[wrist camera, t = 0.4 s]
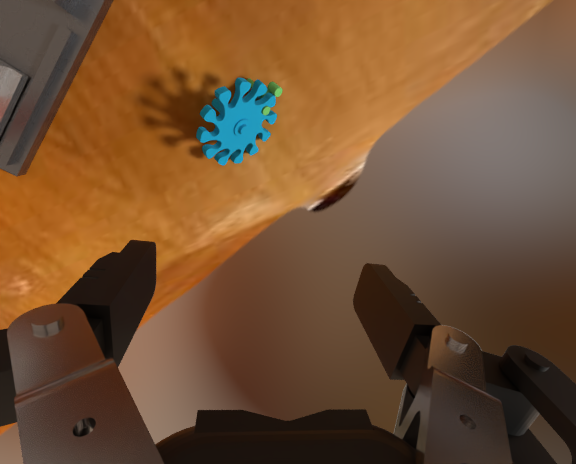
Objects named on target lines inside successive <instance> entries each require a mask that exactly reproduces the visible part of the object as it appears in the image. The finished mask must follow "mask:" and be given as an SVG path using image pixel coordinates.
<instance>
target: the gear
mask: <svg viewBox="0 0 576 464" xmlns="http://www.w3.org/2000/svg"><path fill="white" fill-rule="evenodd" d="M250 88H251V91H250V92H249V93H248V94H247V95H246V96H245V97H244V98H243V95H244V94H245V93H247V92H248V91H249V89H250ZM281 94H282V88H281V87H279V86H278V85H277V84H276V83H274V82H270V83H269V85H268V88H267V87H266V86H265V85H264V84H263V83H262V82H261V81H260V80H256V81H255V82H253V81H252V80H251V79H247V80H246V79H244V78H237V79H236V81H235V94H234V97H233V99H232V101H231V102H230V103H229V104H228V102H229V100H230V98H231V92H230V90H228V89H227V88H226V87H225V86H224V87H220V88H218V89H217V90H215V96H216V97H217V98H218V99H217V98H215V99H213V101H212V106H213V107H214V108H215V109H216V110H217V111H218V112H219V113H220V114H219V116H217V117H216V112H215V110H214V109H213V108H212V107H211V106H209V105H206V106H205V107H204V108H203V109H202V110H201V112H200V115H201V117H202V118H203V119H204V120H205V121H207V122H213V123H214V124H215V129H214V131H212V132H208V131H207V130H206V129H205V128H204V127H199V128H198V130H197V134H196V138H197V139H198V140H199V141H200V142H202V143H205V142H207V141H210V140H217V143H216V144H214V145H210V144H205V145H204V146H203V147H202V151H203V153H204V155H205V156H206V157H207V158H208V159H210V158H212V157H213V156H214V155H215V154H216V153H217V152H219V151H221V150H223V149H225V150H224V151H223V152H220V153H218V154H216V155H215V157H214V158H215V160H216V161H217V162H218V163H219V164H221V165H223V166H224V165H225V164H226V163H227V161H228V158H229V157H230V155H231V154H232V153H233V152H234V151H235V152H234V153H233V154H232V155H231V157H230V159H231V160H232V161H233V162H234V163H241V162H242V161H243V152H244V150H245V148H246V151H247V152H248V153H249V154H250V155H253V154H255V153H257V152H258V147H257V146H256V143H255V140H256V136H257V134H258V136H259V138H260V139H261V140H263V141H264V142H265V141H266V140H267V139H268V138H269V137H270V135H271V134H270V132H269V131H268V130H266V129H265V128H262V125H261V124H262V122H263V121H264V120H266V121H267V122H269V123H270V124H274V122H275V120H276V118H277V114H276V113H274V112H273V111H272V110H270V107H273V106H275V103H276V99H275V96H276V97H279V96H280V95H281ZM274 95H275V96H274ZM246 146H247V147H246Z"/></svg>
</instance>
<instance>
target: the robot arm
mask: <svg viewBox="0 0 576 464" xmlns="http://www.w3.org/2000/svg"><path fill="white" fill-rule="evenodd" d="M155 286H156V244H155V242H149V241H139V240H130V241H129V243H128V244H127V245H126V246H125V247H124V249H123V250H122V251H121V252H120V253H117V252H112V253H110V254H108V255H106V256H104V257H102V258H100V259H98V260H97V261H96V262H95V263H94V264H93V265H92V266H91V267H90V270H88V271H87V272H86V273H85V274H84V275H83V277H82V278H80V279H79V280H78V281H77V282H76V283H75V284H74V285H73V286H72V287H71V288H70V289H69V291H68V292H67V293H66V294H65V295H64V296H63V297H62V298H61V299H60V300H59V301H58V302H57V303H56V304H50V305H46V306H42V307H38V308H35V309H33V310H30V311H28V312H26V313H24V314H23V315H21V316H19V317H18V318H17V319H15V320H14V321H13V322H12V323H11V325H10V326H9V327H8V329H3V330H0V426H4V425H8V424H12V423H15V422H17V423H18V430H19V437H20V444H21V450H22V457H23V464H557V463H556V462H555V461H554V459H553V458H552V457H551V456H550V455H549V453H548V452H547V451H546V449H545V448H544V447H543V446H542V444H541V443H540V442H539V441H538V440H537V439H536V437H535V436H534V435H533V434H532V432H531V431H530V430H529V427H530V425H531V424H532V423H533V422H534V420H535V419H536V418H537V416H538V415H539V414H541V415H542V417H543V418H544V419H545V420H546V421H547V422H548V423H549V424H550V426H551V427H552V428H553V429H554V430H555V431H556V432H557V434H558V435H559V436H560V437H561V438H562V439H563V440H564V441H565V443H566V444H567V446H568V448H569V449H570V452H571V455H572V464H576V384H575V383H574V382H573V381H572V380H571V379H570V378H569V377H567V376H566V375H565V374H564V373H563V372H562V371H561V370H560V369H559V368H558V367H556V366H555V365H554V364H553V363H552V362H551V361H549V360H548V359H546V358H545V357H543V356H542V355H540V354H538V353H536V352H534V351H532V350H530V349H527V348H524V347H521V346H516V345H513V346H509V347H508V348H507V350H506V351H505V353H504V355H503V356H502V357H500V356H497V355H494V354H490V353H487V352H483V351H482V350H481V348H480V347H479V345H478V344H477V343H476V342H475V341H474V340H473V339H472V338H471V337H469V336H468V335H467V334H465V333H463V332H462V331H460V330H458V329H455V328H453V327H450V326H444V325H441V324H440V323H439V322H438V321H437V320H436V318H435V317H434V316H433V315H432V314H431V312H430V311H429V310H428V309H427V308H426V307H425V305H424V304H423V303H421V301H420V300H419V298H418V297H417V296H415V294H414V293H413V292H412V290H411V289H410V288H409V287H408V286H407V285H406V284H404V283H403V282H401V281H400V280H399V279H397V278H396V277H395V276H394V275H393V273H392V272H391V271H390V270H389V269H388V268H387V267H386V266H385V265H379V264H369V263H367V264H365V265H364V267H363V269H362V272H361V275H360V278H359V282H358V285H357V288H356V291H355V294H354V299H353V305H354V309H355V312H356V313H357V315H358V318H359V319H360V321H361V323H362V325H363V327H364V329H365V331H366V333H367V335H368V337H369V339H370V341H371V343H372V345H373V347H374V349H375V351H376V353H377V355H378V357H379V359H380V361H381V363H382V365H383V367H384V369H385V371H386V373H387V375H388V376H389V379H394V380H396V379H397V380H405V381H406V383H407V384H406V386H405V388H404V390H403V394H402V398H401V403H400V408H399V412H398V417H397V421H396V426H395V430H394V434H392V433H390V432H388V431H386V430H384V429H382V428H379V427H377V426H374V425H372V424H371V422H370V419H369V416H368V414H367V411H366V410H325V411H322V412H318V413H315V414H312V415H309V416H305V417H302V418H298V419H295V420H292V421H284V420H280V419H276V418H272V417H268V416H264V415H260V414H256V413H252V412H248V411H244V410H198V413H197V419H196V425H195V426H193V427H190V428H186V429H184V430H181V431H179V432H176V433H174V434H172V435H170V436H169V437H167V438H165V439H163V440H161V441H160V442H158V443H157V444H154V442H153V439H152V437H151V435H150V433H149V431H148V429H147V427H146V425H145V423H144V421H143V419H142V417H141V415H140V413H139V411H138V408H137V406H136V405H135V403H134V400H133V398H132V396H131V394H130V392H129V390H128V388H127V386H126V384H125V382H124V380H123V378H122V376H121V374H120V372H119V369H118V366H119V364H120V362H121V360H122V358H123V356H124V354H125V352H126V350H127V348H128V346H129V344H130V342H131V340H132V338H133V336H134V334H135V332H136V330H137V328H138V326H139V324H140V322H141V320H142V317H143V315H144V313H145V311H146V309H147V307H148V305H149V303H150V301H151V299H152V297H153V294H154V291H155Z"/></svg>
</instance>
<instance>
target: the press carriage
mask: <svg viewBox="0 0 576 464" xmlns="http://www.w3.org/2000/svg"><path fill="white" fill-rule="evenodd" d="M28 78H29V77H28V76H27V75H25V74H23V73H22V72H20V71H18V70H17V69H15V68H14V67H12V66H10V65H9V64H7V63H5V62H4V61H2V60H1V59H0V137H1V135H2V132H3V130H4V128H5V126H6V124H7V122H8V120H9V118H10V116H11V113H12V111H13V109H14V107H15V105H16V103H17V101H18V99H19V97H20V94H21V92H22V90H23V88H24V86H25V84H26V82H27V80H28Z"/></svg>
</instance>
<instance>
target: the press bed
mask: <svg viewBox="0 0 576 464" xmlns="http://www.w3.org/2000/svg"><path fill="white" fill-rule="evenodd" d="M112 2H113V0H0V59H1V60H2V61H4V62H5V63H7V64H9V65H10V66H12V67H14V68H15V69H17V70H18V71H20V72H22V73H23V74H25V75H27V76H28V77H29V78H28V80H27V82H26V84H25V86H24V88H23V90H22V92H21V94H20V97H19V99H18V101H17V103H16V105H15V107H14V109H13V111H12V113H11V116H10V118H9V120H8V122H7V124H6V126H5V128H4V130H3V132H2V135H1V137H0V168H1V169H3V170H5V171H7V172H9V173H11V174H13V175H15V176H20V175H24V174H26V172H27V170H28V168H29V166H30V164H31V162H32V160H33V158H34V156H35V154H36V152H37V150H38V148H39V146H40V144H41V142H42V140H43V138H44V136H45V134H46V132H47V130H48V129H49V127H50V125H51V123H52V121H53V119H54V117H55V115H56V113H57V111H58V109H59V107H60V105H61V103H62V101H63V99H64V97H65V95H66V93H67V91H68V89H69V87H70V85H71V83H72V81H73V79H74V77H75V75H76V73H77V71H78V69H79V67H80V65H81V63H82V61H83V59H84V57H85V55H86V53H87V51H88V49H89V47H90V45H91V43H92V41H93V39H94V37H95V35H96V33H97V31H98V29H99V27H100V26H101V24H102V22H103V20H104V18H105V16H106V14H107V12H108V10H109V8H110V6H111V4H112Z"/></svg>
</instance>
